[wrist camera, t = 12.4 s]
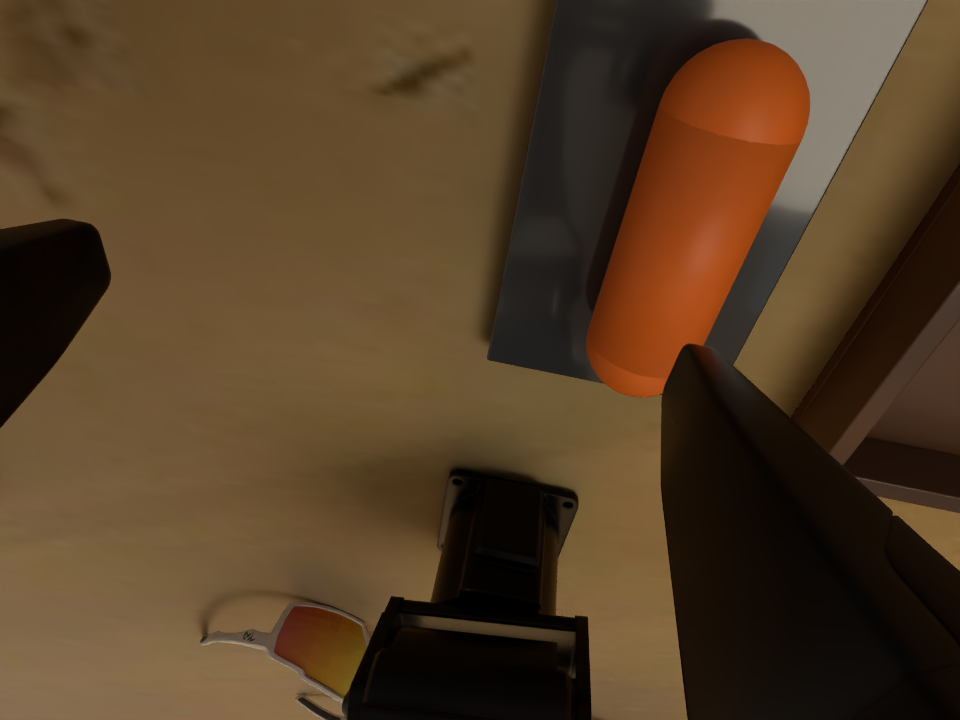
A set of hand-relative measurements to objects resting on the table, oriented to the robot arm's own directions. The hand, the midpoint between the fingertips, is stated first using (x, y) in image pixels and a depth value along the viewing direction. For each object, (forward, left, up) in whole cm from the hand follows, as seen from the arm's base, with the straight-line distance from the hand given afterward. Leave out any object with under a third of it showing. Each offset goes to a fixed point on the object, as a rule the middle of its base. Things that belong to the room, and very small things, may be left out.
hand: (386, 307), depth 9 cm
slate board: (-2, -6, -12) cm, 14 cm away
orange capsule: (-2, -6, -11) cm, 12 cm away
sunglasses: (-40, +7, -12) cm, 42 cm away
